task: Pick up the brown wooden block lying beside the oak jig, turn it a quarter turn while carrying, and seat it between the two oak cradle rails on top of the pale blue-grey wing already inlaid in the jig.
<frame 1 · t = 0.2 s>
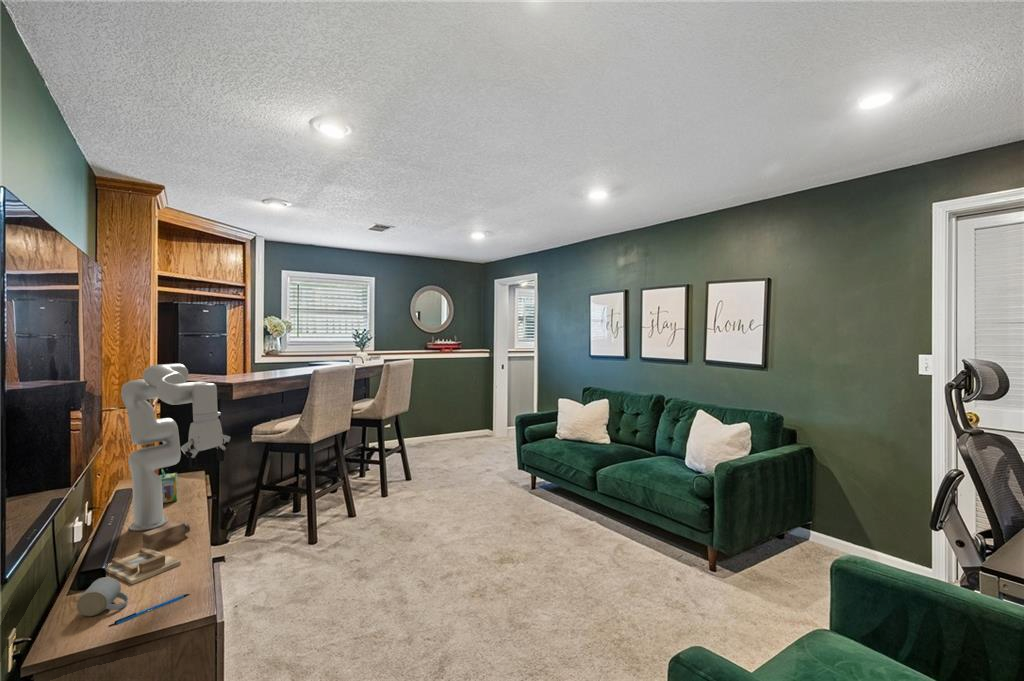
hand: (207, 464, 173), 31 cm above the tv stand, fingers open, 9 cm apart
chalk box: (166, 500, 223), on the tv stand
pen: (151, 611, 136), on the tv stand
ceramic mug: (105, 609, 137), on the tv stand
brown wooden block: (164, 543, 178), on the tv stand
jig: (141, 566, 160), on the tv stand
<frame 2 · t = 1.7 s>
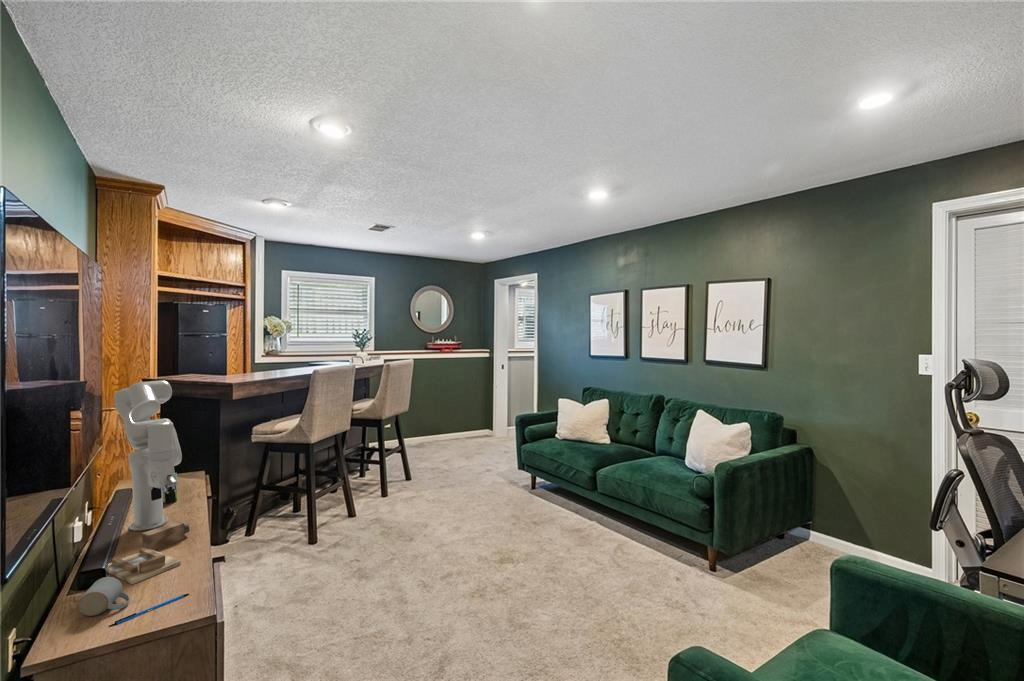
hand: (163, 501, 177), 16 cm above the tv stand, fingers open, 9 cm apart
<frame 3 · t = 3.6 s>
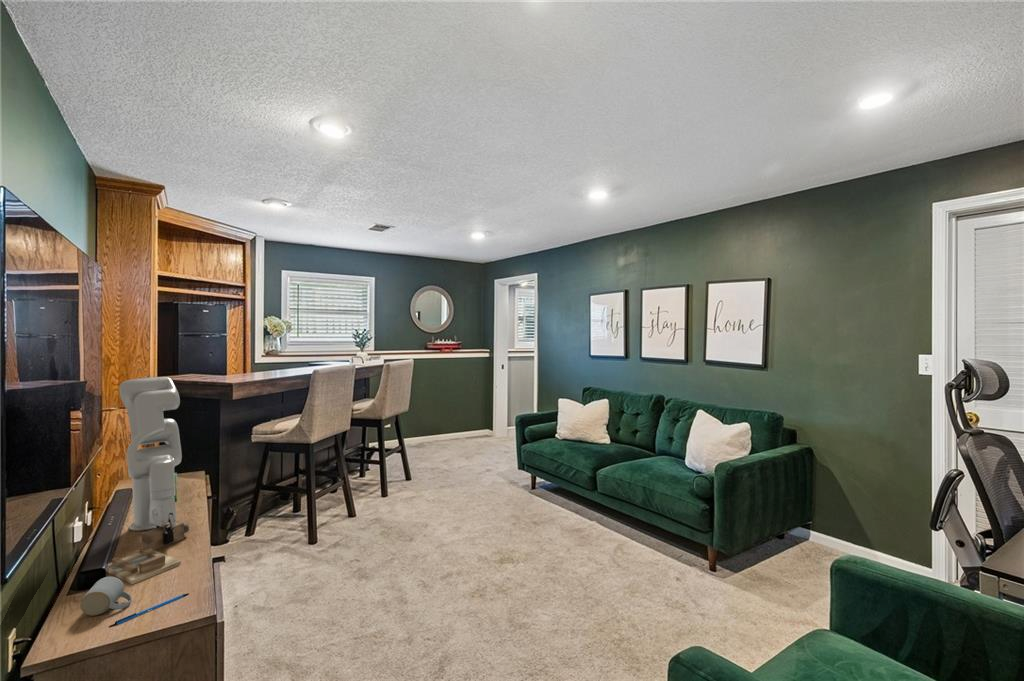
hand: (164, 541, 178), 1 cm above the tv stand, fingers closed on brown wooden block, 4 cm apart
brown wooden block: (163, 543, 178), on the tv stand, touching gripper
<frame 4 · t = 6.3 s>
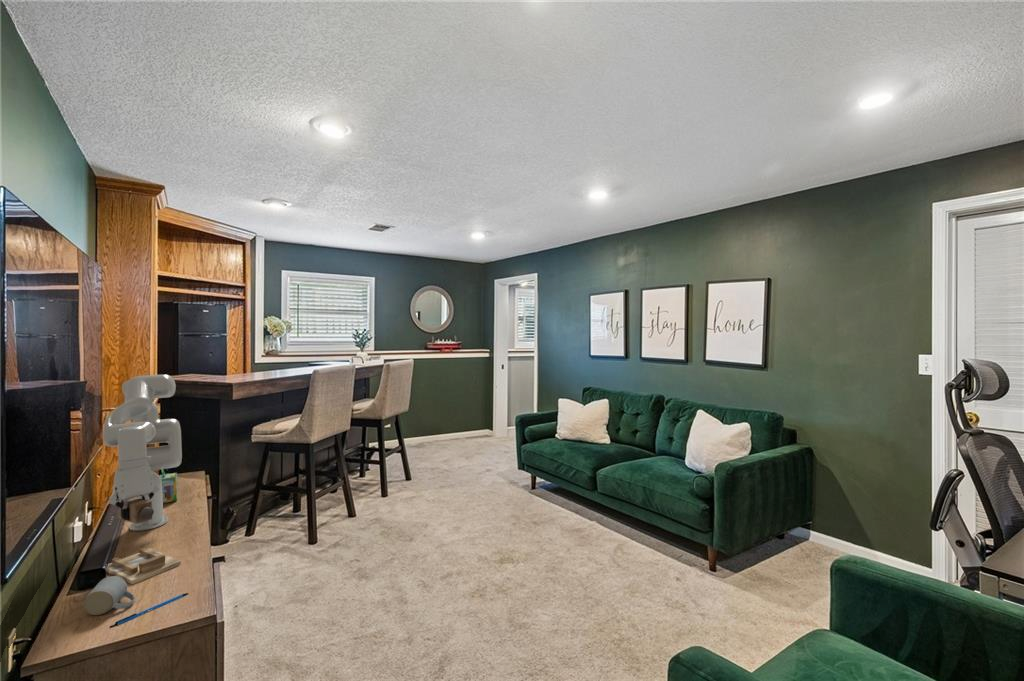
hand: (135, 516, 161), 17 cm above the tv stand, fingers closed on brown wooden block, 4 cm apart
brown wooden block: (134, 518, 161), point 16 cm above the tv stand, touching gripper
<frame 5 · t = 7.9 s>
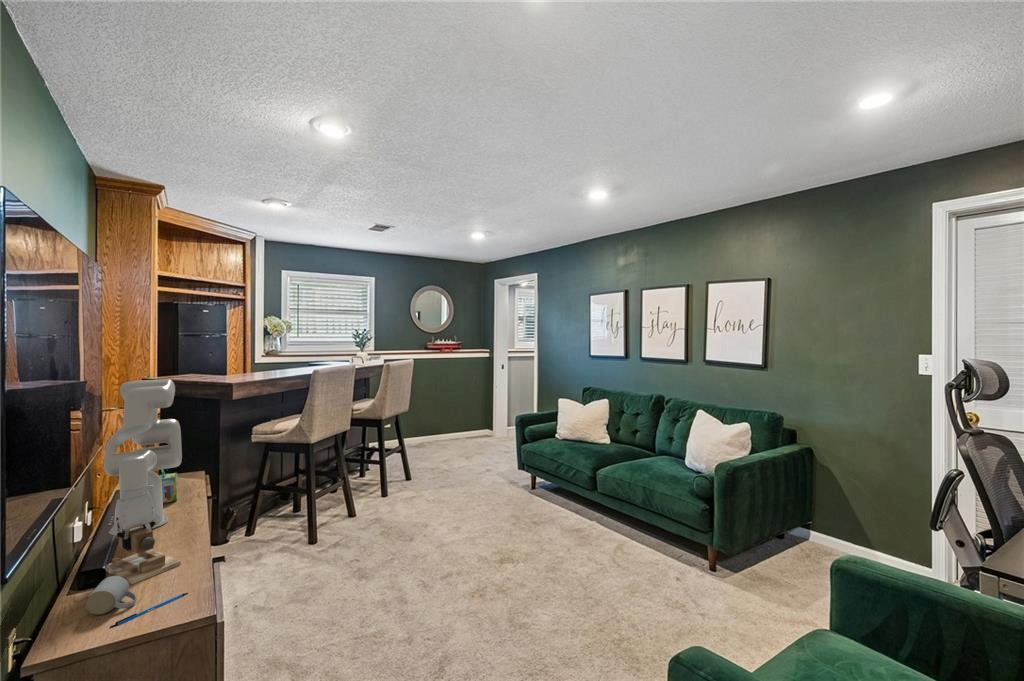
hand: (136, 545, 161), 7 cm above the tv stand, fingers closed on brown wooden block, 4 cm apart
brown wooden block: (136, 547, 162), point 6 cm above the tv stand, touching gripper
when the fingers open (4 cm above the tv stand, at t = 9.3 s): brown wooden block drops 1 cm, resting on jig.
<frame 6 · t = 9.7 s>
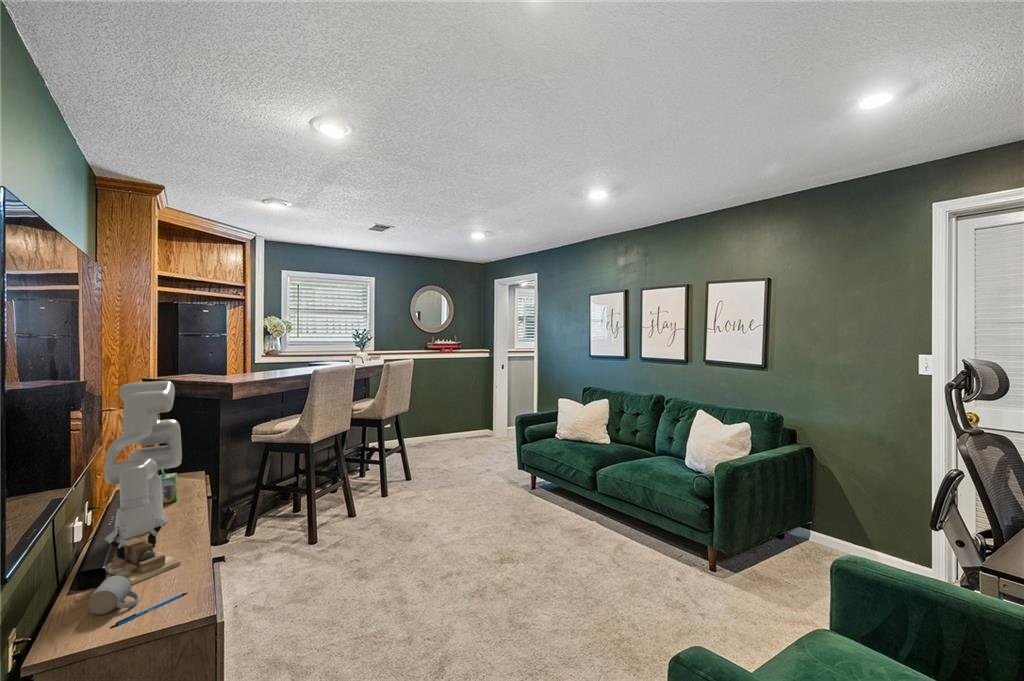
hand: (136, 552, 162), 4 cm above the tv stand, fingers open, 8 cm apart
brown wooden block: (137, 560, 162), point 1 cm above the tv stand, touching jig
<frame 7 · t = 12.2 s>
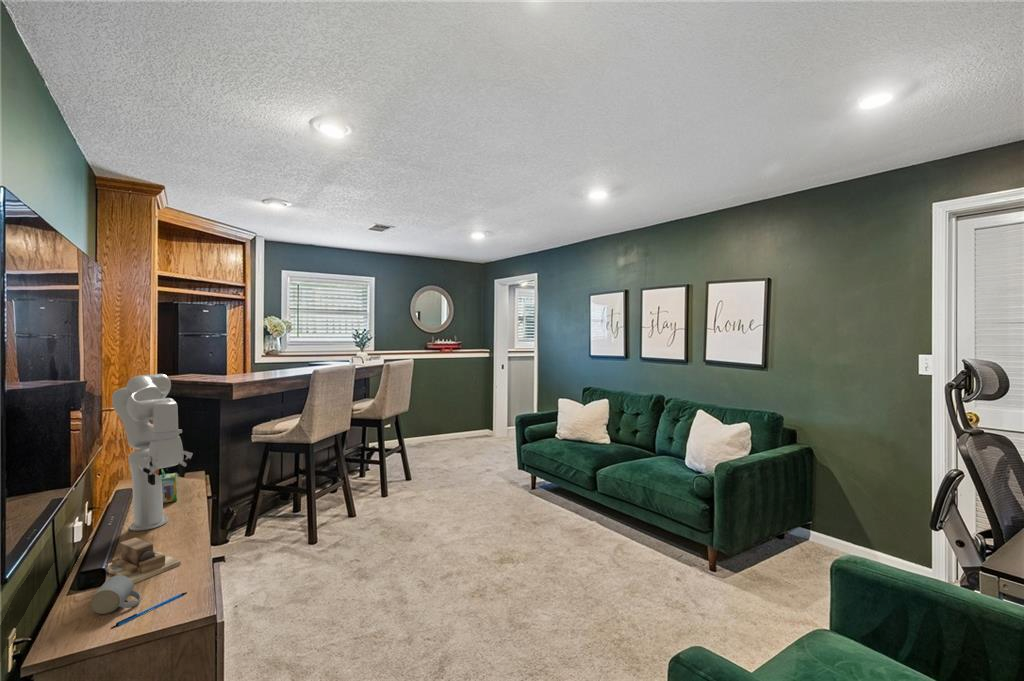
hand: (167, 480, 178), 24 cm above the tv stand, fingers open, 9 cm apart
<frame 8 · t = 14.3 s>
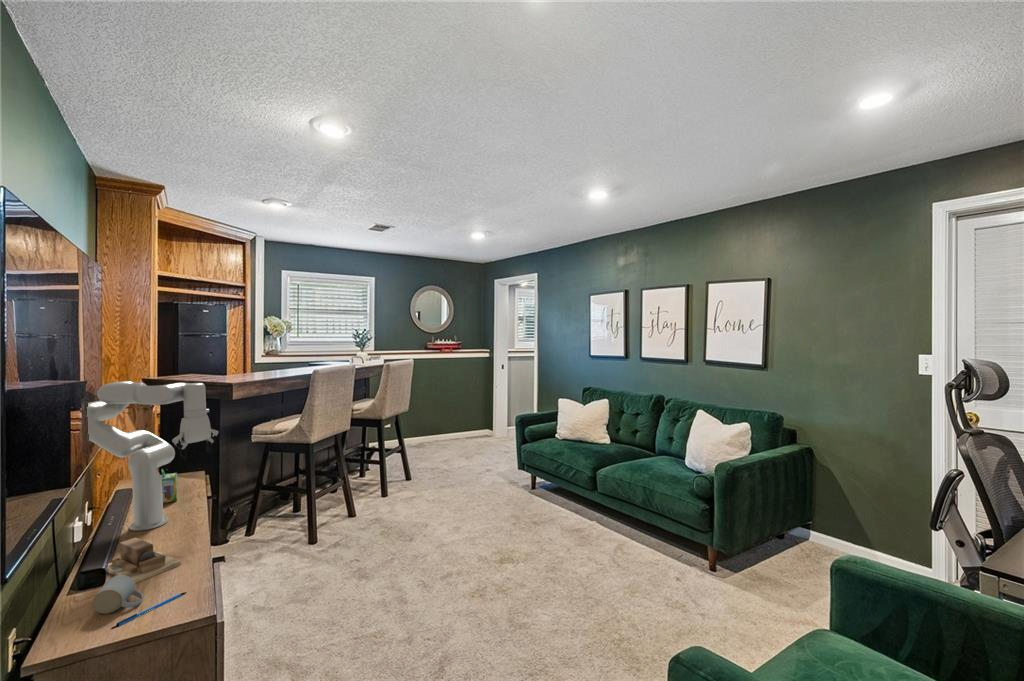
hand: (196, 455, 195), 28 cm above the tv stand, fingers open, 9 cm apart
at the end: brown wooden block 0.4 cm from the target spot on the jig, point 1.2 cm above the jig's base; brown wooden block tilted 0°; the gripper is holding nothing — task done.
